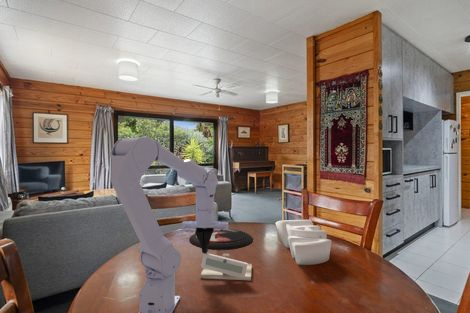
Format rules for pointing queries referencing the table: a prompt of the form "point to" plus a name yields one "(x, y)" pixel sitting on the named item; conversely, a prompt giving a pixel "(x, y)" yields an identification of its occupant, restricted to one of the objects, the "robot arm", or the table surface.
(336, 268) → the table surface
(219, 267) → the frame
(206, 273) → the easel stand
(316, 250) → the white wavy slab sculpture
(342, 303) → the table surface
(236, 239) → the wall clock
